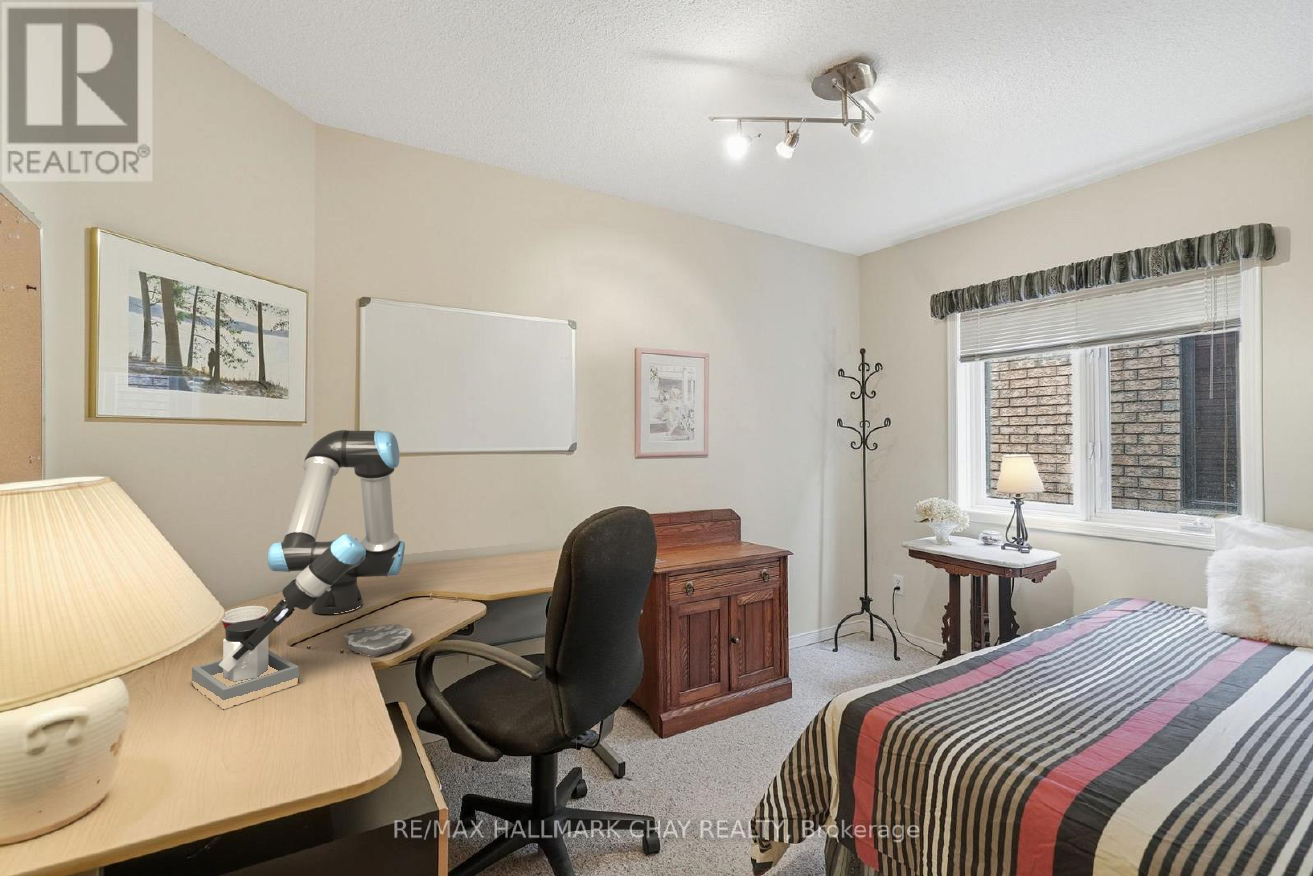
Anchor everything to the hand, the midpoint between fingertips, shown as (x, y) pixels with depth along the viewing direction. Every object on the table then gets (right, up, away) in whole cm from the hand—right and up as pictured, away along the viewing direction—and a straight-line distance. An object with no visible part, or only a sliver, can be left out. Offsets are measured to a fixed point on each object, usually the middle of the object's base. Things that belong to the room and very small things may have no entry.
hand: (229, 660), depth 140 cm
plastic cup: (-10, -6, +19) cm, 22 cm away
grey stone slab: (+22, -7, +29) cm, 37 cm away
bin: (+3, -7, +1) cm, 7 cm away
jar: (+3, -4, +1) cm, 5 cm away
